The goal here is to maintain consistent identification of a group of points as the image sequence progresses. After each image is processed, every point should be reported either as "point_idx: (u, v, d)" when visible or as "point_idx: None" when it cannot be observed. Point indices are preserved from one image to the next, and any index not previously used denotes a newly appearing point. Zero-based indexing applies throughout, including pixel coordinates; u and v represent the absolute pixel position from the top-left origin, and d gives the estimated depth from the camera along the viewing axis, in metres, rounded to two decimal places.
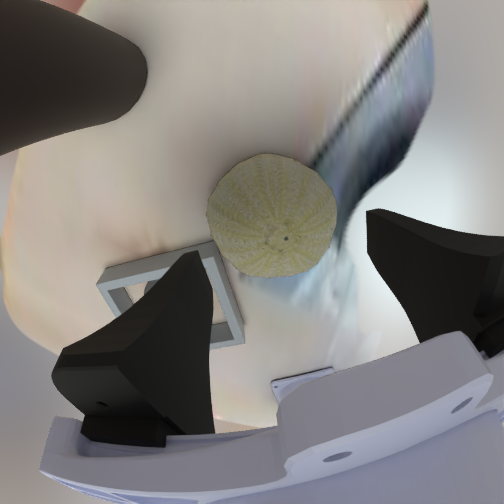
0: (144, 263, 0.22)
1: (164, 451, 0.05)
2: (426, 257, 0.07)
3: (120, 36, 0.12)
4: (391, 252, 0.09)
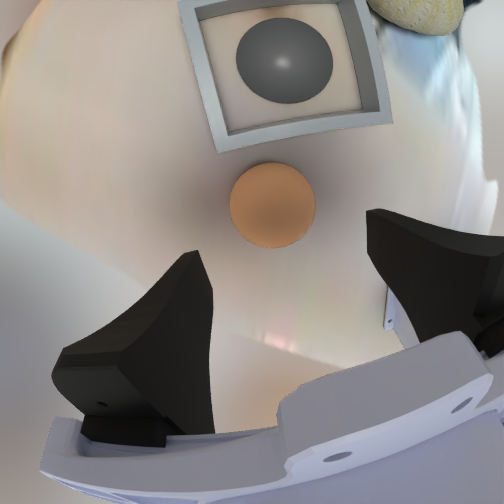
0: None
1: (164, 451, 0.05)
2: (426, 257, 0.07)
3: None
4: (391, 252, 0.09)
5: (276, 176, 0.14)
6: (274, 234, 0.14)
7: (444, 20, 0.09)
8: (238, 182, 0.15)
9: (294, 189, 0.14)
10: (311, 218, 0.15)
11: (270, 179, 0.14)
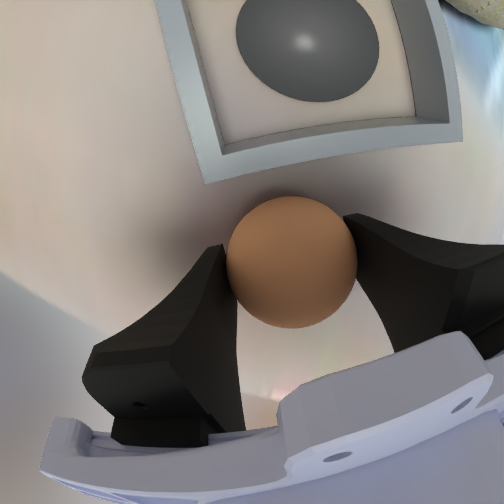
0: None
1: None
2: (397, 266, 0.07)
3: None
4: (366, 259, 0.09)
5: (304, 227, 0.08)
6: (297, 319, 0.09)
7: None
8: (240, 232, 0.09)
9: (333, 250, 0.08)
10: None
11: (294, 233, 0.08)
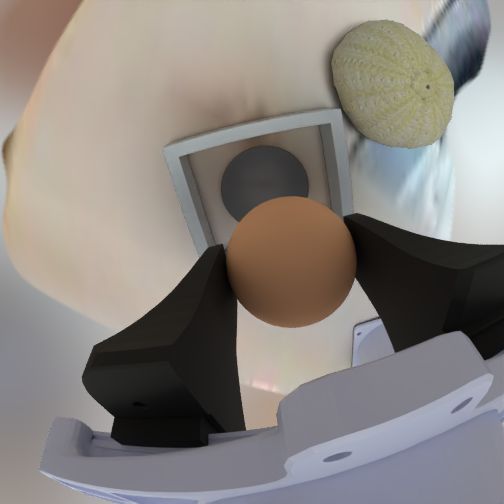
0: (237, 124, 0.16)
1: None
2: (397, 266, 0.07)
3: None
4: (366, 259, 0.09)
5: (306, 227, 0.09)
6: (299, 318, 0.09)
7: (425, 139, 0.14)
8: (241, 231, 0.09)
9: (334, 249, 0.08)
10: (351, 286, 0.10)
11: (296, 233, 0.08)
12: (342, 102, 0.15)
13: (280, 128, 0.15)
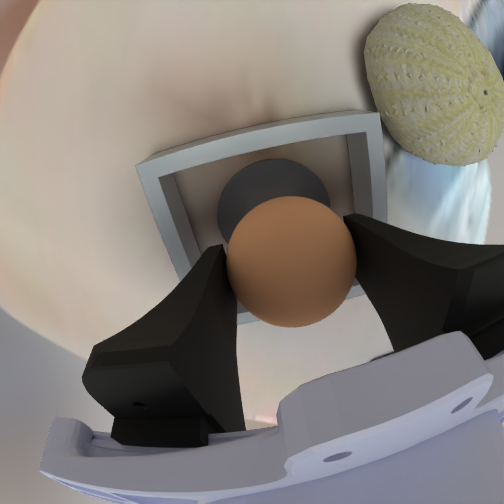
0: (239, 131, 0.12)
1: None
2: (398, 266, 0.07)
3: None
4: (366, 259, 0.09)
5: (306, 227, 0.09)
6: (299, 318, 0.09)
7: (476, 157, 0.10)
8: (241, 231, 0.09)
9: (334, 249, 0.09)
10: (351, 286, 0.10)
11: (296, 232, 0.08)
12: (379, 104, 0.11)
13: (299, 137, 0.10)
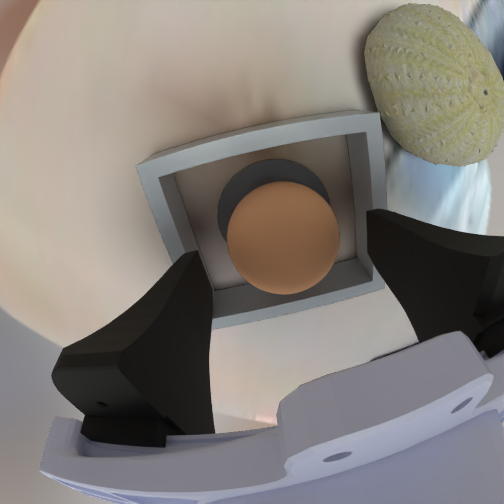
0: (239, 131, 0.12)
1: (164, 451, 0.05)
2: (426, 257, 0.07)
3: None
4: (391, 252, 0.09)
5: (293, 204, 0.10)
6: (289, 282, 0.11)
7: (476, 157, 0.10)
8: (240, 209, 0.11)
9: (317, 222, 0.10)
10: (335, 257, 0.11)
11: (285, 208, 0.10)
12: (379, 104, 0.11)
13: (299, 137, 0.10)
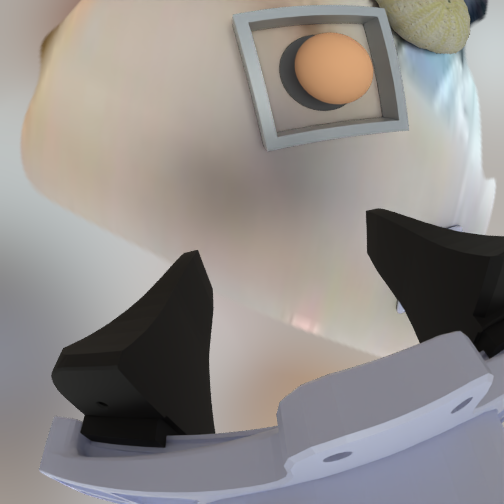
0: None
1: (164, 451, 0.05)
2: (426, 257, 0.07)
3: None
4: (391, 252, 0.09)
5: (342, 35, 0.12)
6: (347, 74, 0.12)
7: (453, 42, 0.11)
8: (306, 41, 0.13)
9: (358, 45, 0.12)
10: (372, 75, 0.13)
11: (338, 35, 0.12)
12: None
13: (338, 12, 0.12)
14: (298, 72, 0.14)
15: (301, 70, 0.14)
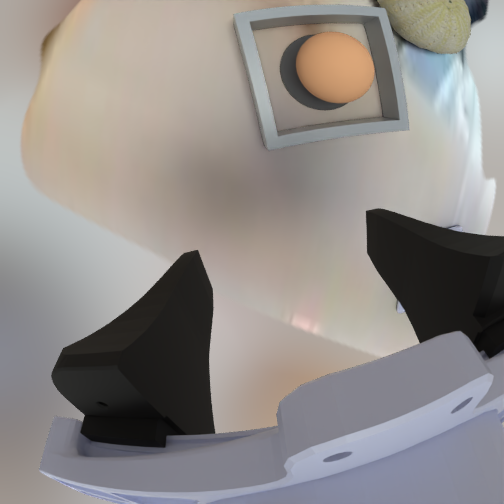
0: None
1: (164, 451, 0.05)
2: (426, 257, 0.07)
3: None
4: (391, 252, 0.09)
5: (343, 34, 0.12)
6: (349, 72, 0.12)
7: (454, 42, 0.11)
8: (308, 40, 0.13)
9: (360, 44, 0.12)
10: (373, 74, 0.13)
11: (339, 34, 0.12)
12: (385, 8, 0.12)
13: (339, 12, 0.12)
14: (300, 71, 0.14)
15: (303, 69, 0.13)
